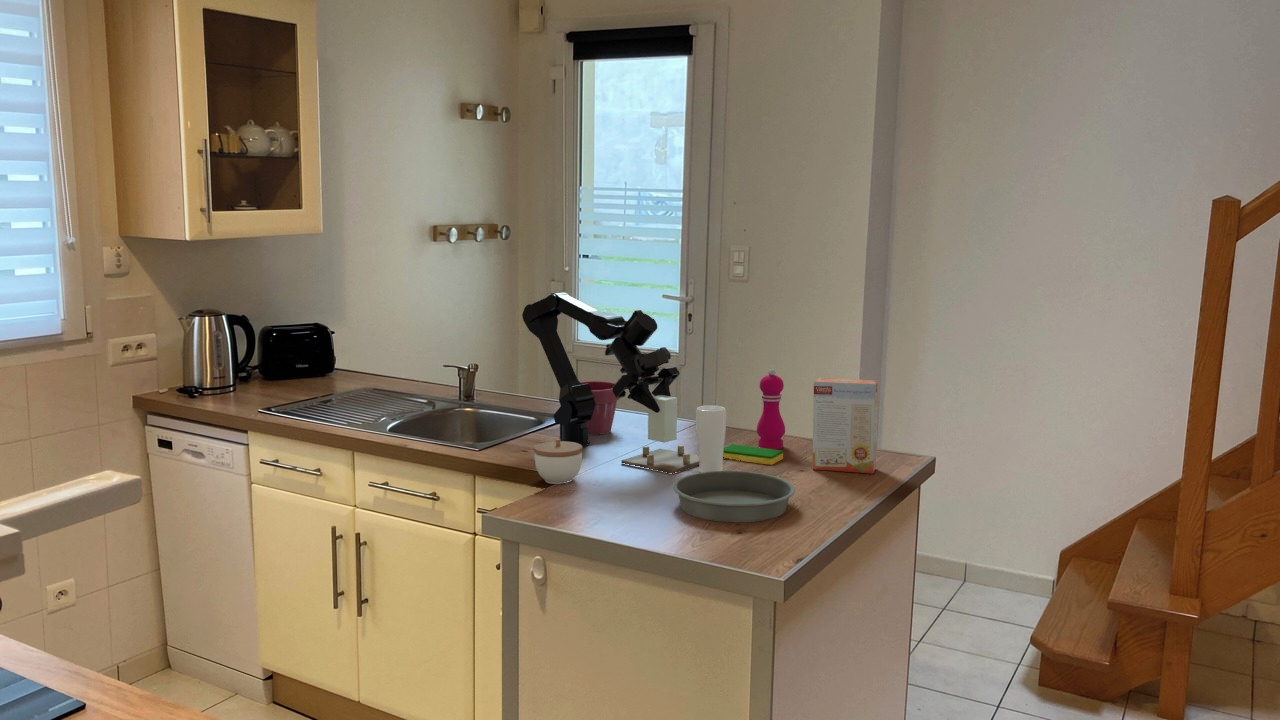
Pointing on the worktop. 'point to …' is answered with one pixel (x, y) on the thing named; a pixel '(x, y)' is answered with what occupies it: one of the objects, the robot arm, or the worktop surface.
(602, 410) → the plant pot
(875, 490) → the worktop surface
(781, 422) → the pepper mill
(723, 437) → the drinking glass
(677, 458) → the peg stand
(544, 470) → the lidded jar
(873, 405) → the cracker box
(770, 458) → the dish sponge
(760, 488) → the cake pan
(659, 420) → the sage block
